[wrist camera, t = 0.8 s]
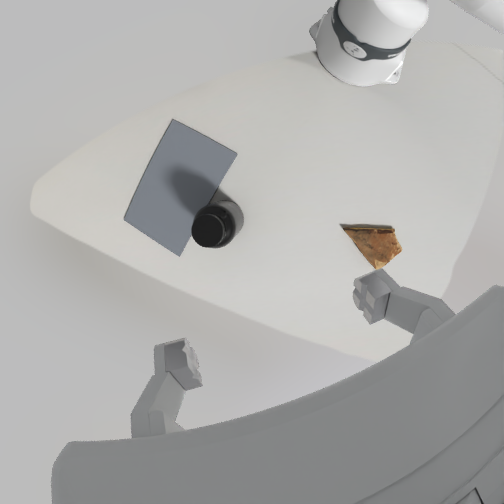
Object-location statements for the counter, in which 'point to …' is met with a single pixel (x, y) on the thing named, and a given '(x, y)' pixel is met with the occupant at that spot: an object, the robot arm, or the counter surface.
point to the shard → (376, 244)
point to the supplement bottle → (217, 224)
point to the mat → (178, 185)
